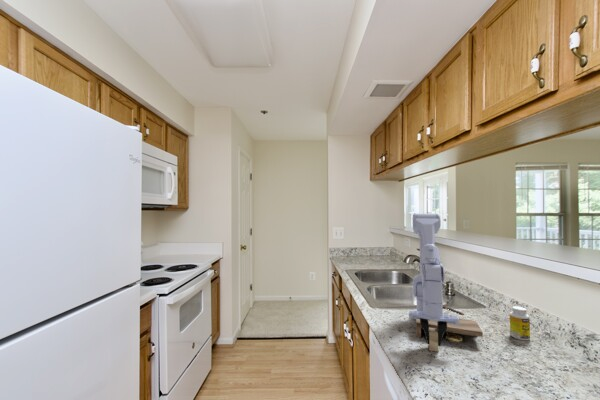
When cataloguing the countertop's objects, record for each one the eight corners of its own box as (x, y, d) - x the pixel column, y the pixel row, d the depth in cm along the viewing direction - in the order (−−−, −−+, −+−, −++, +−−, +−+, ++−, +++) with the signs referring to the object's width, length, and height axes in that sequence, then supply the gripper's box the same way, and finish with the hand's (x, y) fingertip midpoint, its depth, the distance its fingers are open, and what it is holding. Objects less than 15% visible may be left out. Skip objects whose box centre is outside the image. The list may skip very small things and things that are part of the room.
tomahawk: (472, 315, 120) (473, 312, 120) (461, 316, 117) (461, 313, 117) (435, 301, 138) (436, 299, 138) (425, 301, 135) (425, 299, 135)
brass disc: (442, 336, 97) (442, 332, 97) (455, 336, 98) (455, 332, 98) (452, 343, 92) (452, 339, 92) (465, 343, 93) (465, 339, 93)
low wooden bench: (416, 325, 106) (415, 312, 106) (476, 335, 98) (475, 320, 98) (416, 336, 97) (416, 322, 97) (482, 347, 89) (482, 332, 89)
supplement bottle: (523, 342, 93) (522, 311, 93) (506, 335, 98) (505, 306, 99) (534, 339, 95) (533, 309, 95) (516, 332, 100) (515, 304, 101)
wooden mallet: (427, 333, 99) (427, 316, 99) (437, 335, 98) (437, 318, 98) (429, 350, 87) (429, 331, 87) (440, 352, 86) (440, 332, 86)
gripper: (408, 302, 88) (409, 344, 87) (460, 308, 82) (461, 354, 82) (408, 295, 94) (409, 335, 94) (456, 301, 89) (457, 343, 88)
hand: (433, 343), depth 88 cm, fingers closed on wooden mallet, 2 cm apart
